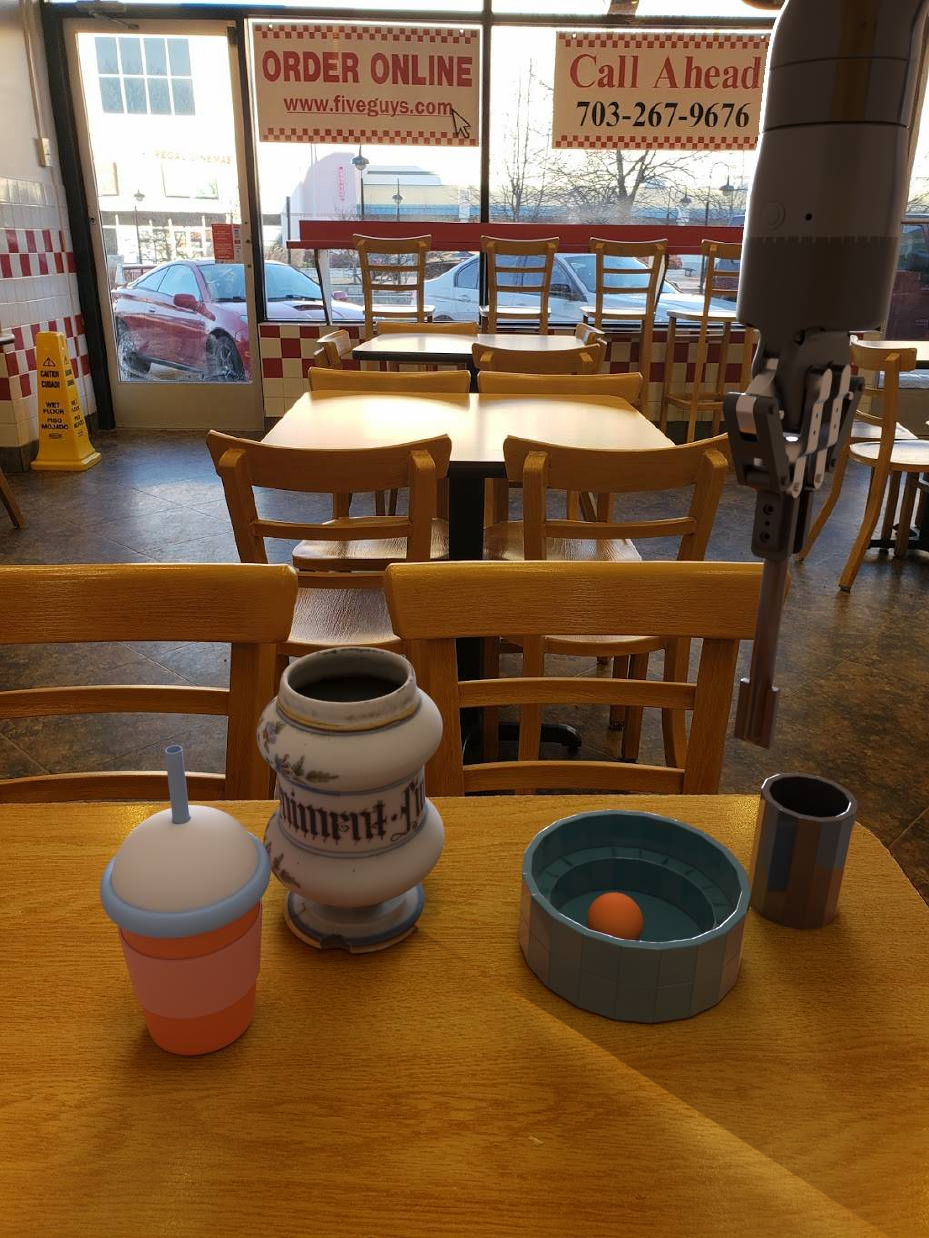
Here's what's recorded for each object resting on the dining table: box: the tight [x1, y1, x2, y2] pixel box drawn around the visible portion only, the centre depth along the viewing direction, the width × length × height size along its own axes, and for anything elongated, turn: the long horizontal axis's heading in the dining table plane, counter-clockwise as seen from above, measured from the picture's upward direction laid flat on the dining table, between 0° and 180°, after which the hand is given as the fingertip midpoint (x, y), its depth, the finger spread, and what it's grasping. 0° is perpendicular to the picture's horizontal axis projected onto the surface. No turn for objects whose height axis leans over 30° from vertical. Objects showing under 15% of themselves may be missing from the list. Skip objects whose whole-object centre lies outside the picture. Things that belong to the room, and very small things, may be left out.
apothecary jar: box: [256, 646, 445, 955], centre depth 62 cm, size 12×12×18 cm
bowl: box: [518, 808, 751, 1024], centre depth 61 cm, size 14×14×6 cm
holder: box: [747, 772, 859, 931], centre depth 64 cm, size 6×6×9 cm
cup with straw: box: [99, 744, 272, 1056], centre depth 52 cm, size 9×9×18 cm
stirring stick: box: [733, 557, 791, 750], centre depth 56 cm, size 1×2×17 cm, turn 48°
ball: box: [587, 892, 643, 941], centre depth 61 cm, size 4×4×4 cm
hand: (778, 552), depth 55 cm, fingers closed on stirring stick, 1 cm apart
